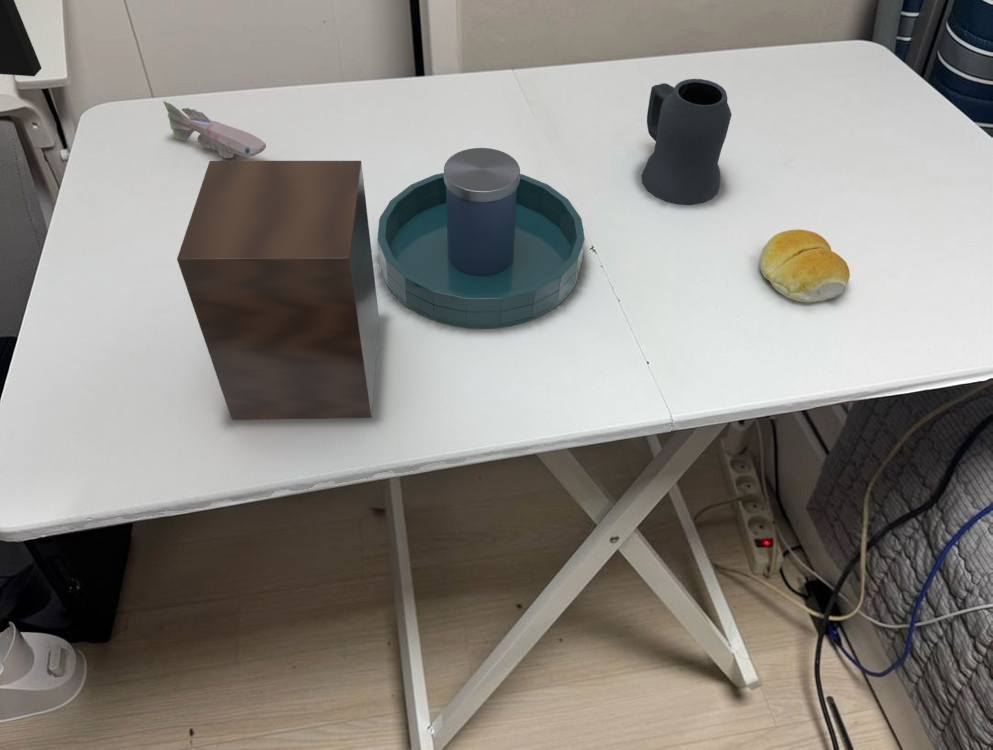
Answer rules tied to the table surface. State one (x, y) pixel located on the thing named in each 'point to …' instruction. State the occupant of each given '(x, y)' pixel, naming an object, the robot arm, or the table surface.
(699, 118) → the mug
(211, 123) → the fish
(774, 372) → the table surface
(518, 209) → the round teal tray
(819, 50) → the table surface
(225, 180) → the brown wooden block
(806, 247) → the bread roll
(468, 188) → the tin
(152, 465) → the table surface
